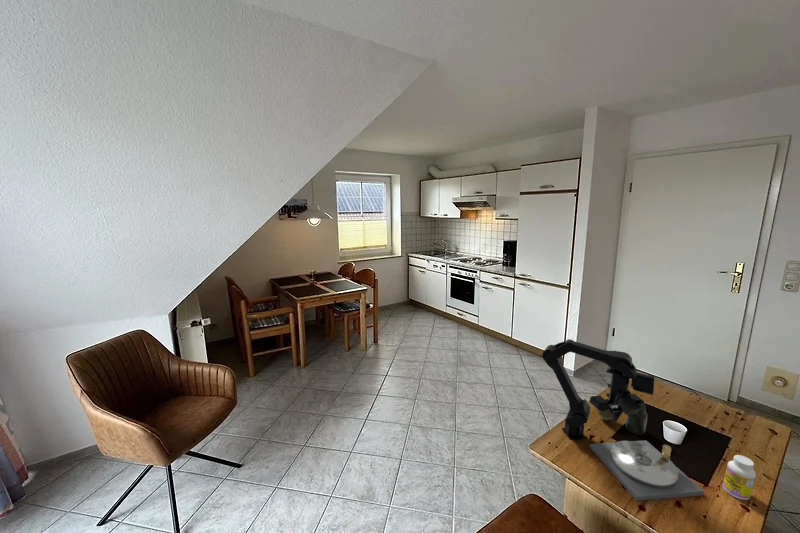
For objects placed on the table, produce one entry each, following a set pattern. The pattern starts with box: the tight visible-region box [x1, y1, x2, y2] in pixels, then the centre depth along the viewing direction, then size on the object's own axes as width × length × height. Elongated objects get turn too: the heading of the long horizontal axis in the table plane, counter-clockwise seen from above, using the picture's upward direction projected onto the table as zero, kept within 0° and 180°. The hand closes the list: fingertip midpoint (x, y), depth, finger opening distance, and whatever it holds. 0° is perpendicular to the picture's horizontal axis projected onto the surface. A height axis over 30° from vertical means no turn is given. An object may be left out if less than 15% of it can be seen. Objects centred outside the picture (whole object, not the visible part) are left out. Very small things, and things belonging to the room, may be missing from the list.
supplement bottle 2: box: [722, 454, 757, 501], centre depth 111 cm, size 7×7×13 cm
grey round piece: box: [610, 440, 678, 488], centre depth 121 cm, size 20×20×7 cm
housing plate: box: [589, 439, 705, 502], centre depth 122 cm, size 24×24×2 cm
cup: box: [596, 408, 612, 422], centre depth 149 cm, size 8×7×8 cm
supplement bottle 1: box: [625, 405, 648, 436], centre depth 142 cm, size 7×7×12 cm
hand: (614, 421), depth 130 cm, fingers closed
